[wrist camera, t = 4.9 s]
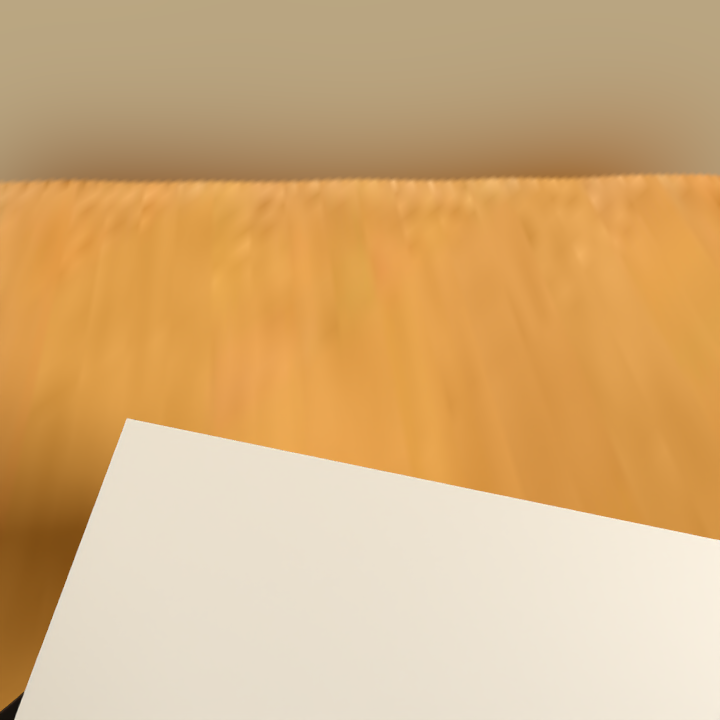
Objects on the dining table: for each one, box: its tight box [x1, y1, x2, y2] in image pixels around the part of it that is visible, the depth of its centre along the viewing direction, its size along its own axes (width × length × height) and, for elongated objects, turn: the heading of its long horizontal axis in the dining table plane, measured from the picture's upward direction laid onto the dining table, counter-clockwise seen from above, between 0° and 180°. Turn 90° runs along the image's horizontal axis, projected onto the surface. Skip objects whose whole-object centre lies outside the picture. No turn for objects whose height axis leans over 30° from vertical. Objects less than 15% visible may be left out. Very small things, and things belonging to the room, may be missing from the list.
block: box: [14, 418, 720, 720], centre depth 8 cm, size 4×4×13 cm
